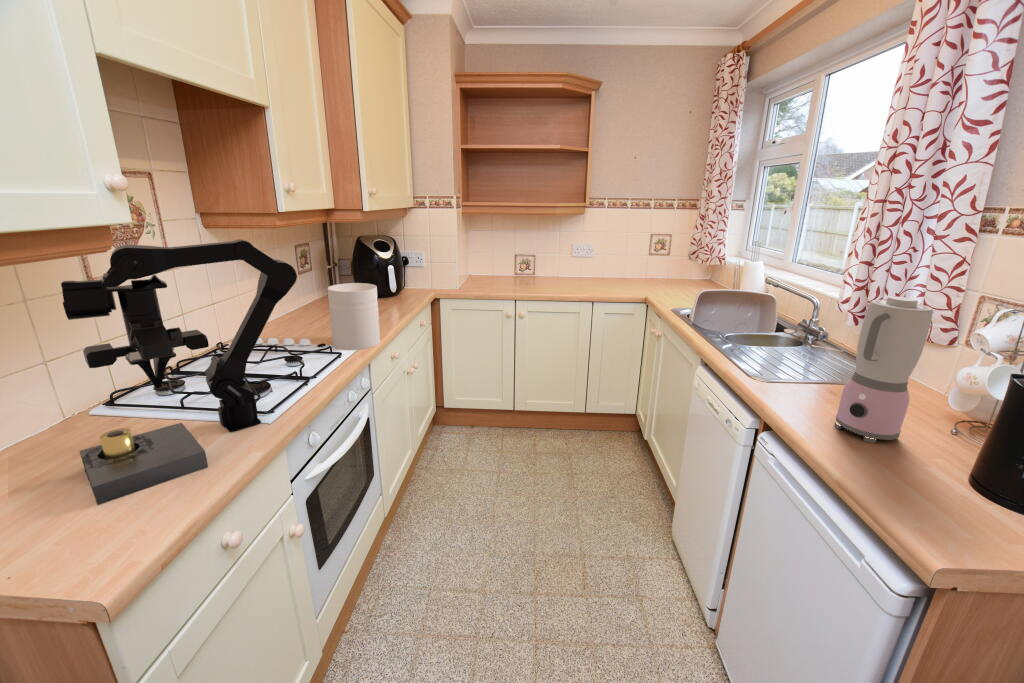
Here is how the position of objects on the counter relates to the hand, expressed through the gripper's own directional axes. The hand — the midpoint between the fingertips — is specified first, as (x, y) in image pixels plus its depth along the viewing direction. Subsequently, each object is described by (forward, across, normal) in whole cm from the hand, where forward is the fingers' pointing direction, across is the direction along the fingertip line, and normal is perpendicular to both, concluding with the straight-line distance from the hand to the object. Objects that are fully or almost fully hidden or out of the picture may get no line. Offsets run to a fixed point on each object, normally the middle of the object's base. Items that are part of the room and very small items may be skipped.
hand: (158, 387), depth 92 cm
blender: (+12, +112, -106) cm, 155 cm away
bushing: (+12, -8, -6) cm, 16 cm away
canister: (+12, +63, +35) cm, 73 cm away
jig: (+12, -6, -8) cm, 16 cm away
